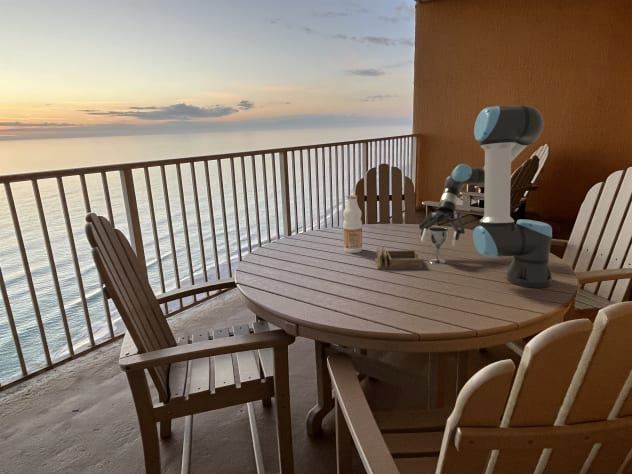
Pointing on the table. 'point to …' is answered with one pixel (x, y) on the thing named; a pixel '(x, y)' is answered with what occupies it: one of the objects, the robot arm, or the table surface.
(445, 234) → the silver goblet
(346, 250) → the fruit juice
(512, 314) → the table surface
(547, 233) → the robot arm
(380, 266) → the wooden tray
